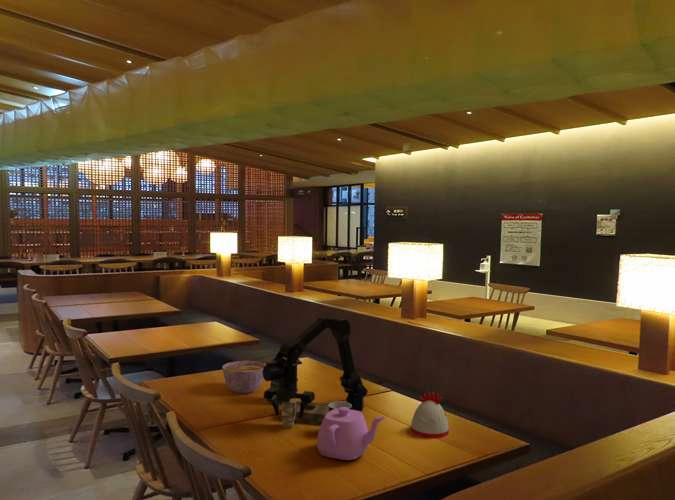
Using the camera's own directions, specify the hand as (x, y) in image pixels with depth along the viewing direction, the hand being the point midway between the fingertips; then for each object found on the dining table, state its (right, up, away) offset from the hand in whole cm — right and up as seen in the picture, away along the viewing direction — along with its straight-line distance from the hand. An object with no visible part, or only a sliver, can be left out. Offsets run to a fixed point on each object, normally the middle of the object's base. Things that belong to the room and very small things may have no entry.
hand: (288, 417), depth 202 cm
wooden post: (0, -3, 0) cm, 3 cm away
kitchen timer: (+53, -5, -2) cm, 53 cm away
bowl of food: (-24, -1, +42) cm, 49 cm away
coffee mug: (+21, -4, -4) cm, 21 cm away
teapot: (+21, -5, -23) cm, 31 cm away
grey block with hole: (+7, -3, +10) cm, 12 cm away
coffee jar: (-6, -2, +29) cm, 29 cm away
